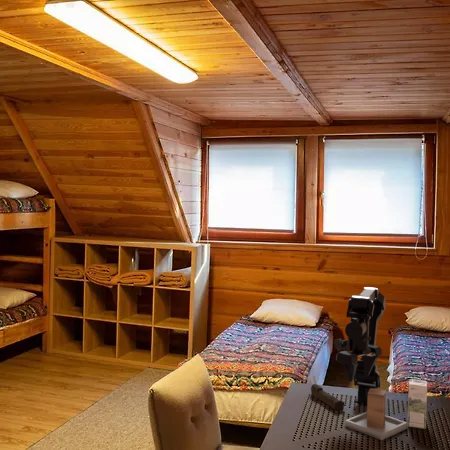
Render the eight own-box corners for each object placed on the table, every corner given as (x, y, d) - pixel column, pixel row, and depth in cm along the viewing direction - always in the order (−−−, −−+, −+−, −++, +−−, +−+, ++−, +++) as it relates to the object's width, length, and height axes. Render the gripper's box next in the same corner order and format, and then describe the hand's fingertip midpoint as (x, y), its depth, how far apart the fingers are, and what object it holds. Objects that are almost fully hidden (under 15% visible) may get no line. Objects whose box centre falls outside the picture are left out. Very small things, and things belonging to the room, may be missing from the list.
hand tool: (344, 411, 200) (345, 398, 199) (334, 412, 198) (335, 399, 198) (318, 394, 217) (318, 381, 217) (308, 395, 216) (308, 382, 216)
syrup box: (425, 423, 190) (427, 380, 189) (425, 429, 184) (427, 385, 184) (407, 420, 192) (408, 378, 191) (407, 427, 186) (408, 383, 185)
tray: (370, 415, 196) (370, 410, 195) (407, 428, 185) (407, 422, 185) (345, 426, 186) (345, 420, 186) (382, 440, 176) (382, 434, 176)
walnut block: (369, 420, 189) (370, 388, 188) (385, 423, 187) (385, 390, 186) (366, 426, 184) (367, 392, 184) (382, 429, 182) (383, 395, 182)
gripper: (355, 325, 206) (354, 368, 206) (323, 332, 193) (322, 378, 194) (383, 331, 197) (381, 375, 198) (351, 339, 185) (349, 386, 185)
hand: (358, 378), depth 194 cm, fingers open, 9 cm apart
